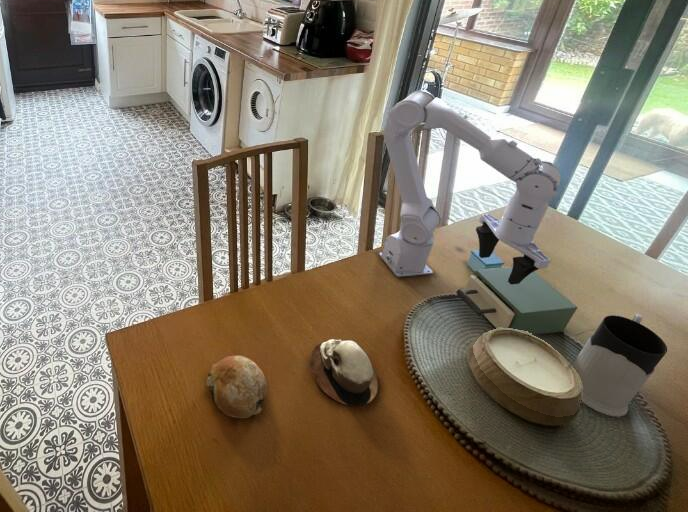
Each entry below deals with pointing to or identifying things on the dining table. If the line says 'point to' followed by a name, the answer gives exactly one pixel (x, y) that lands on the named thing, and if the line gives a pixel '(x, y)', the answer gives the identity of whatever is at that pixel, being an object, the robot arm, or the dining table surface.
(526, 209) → the robot arm
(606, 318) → the black and white mug
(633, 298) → the dining table surface
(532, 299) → the cabinet
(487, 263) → the light blue block
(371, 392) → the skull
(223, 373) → the bread roll
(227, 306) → the dining table surface
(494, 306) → the drawer
